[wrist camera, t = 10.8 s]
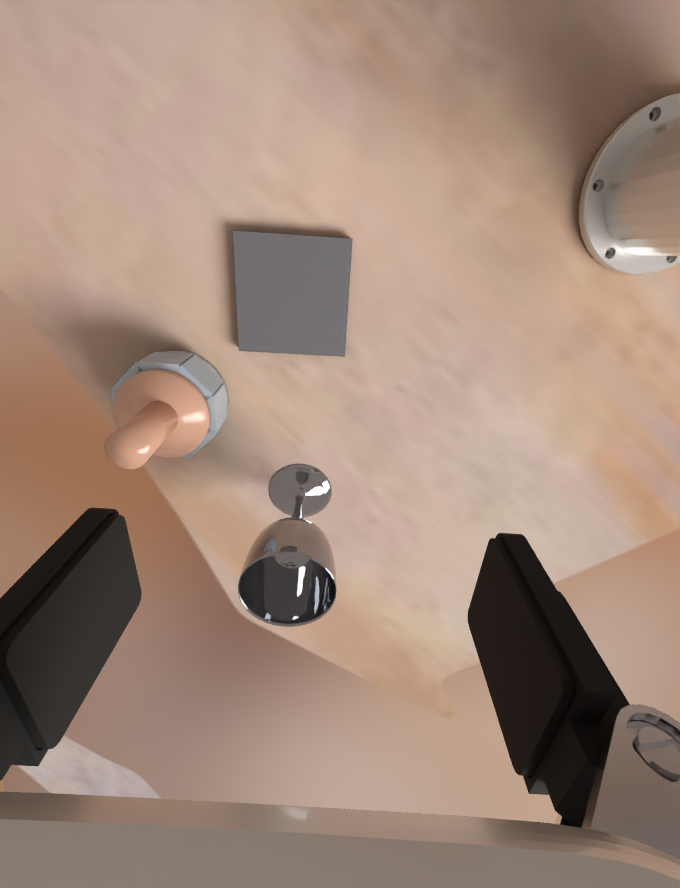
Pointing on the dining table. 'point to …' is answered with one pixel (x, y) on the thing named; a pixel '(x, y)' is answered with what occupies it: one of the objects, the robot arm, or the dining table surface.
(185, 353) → the bowl
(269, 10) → the dining table surface
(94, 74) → the dining table surface
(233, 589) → the dining table surface
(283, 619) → the wine glass
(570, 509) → the dining table surface
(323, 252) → the mat
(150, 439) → the lid
